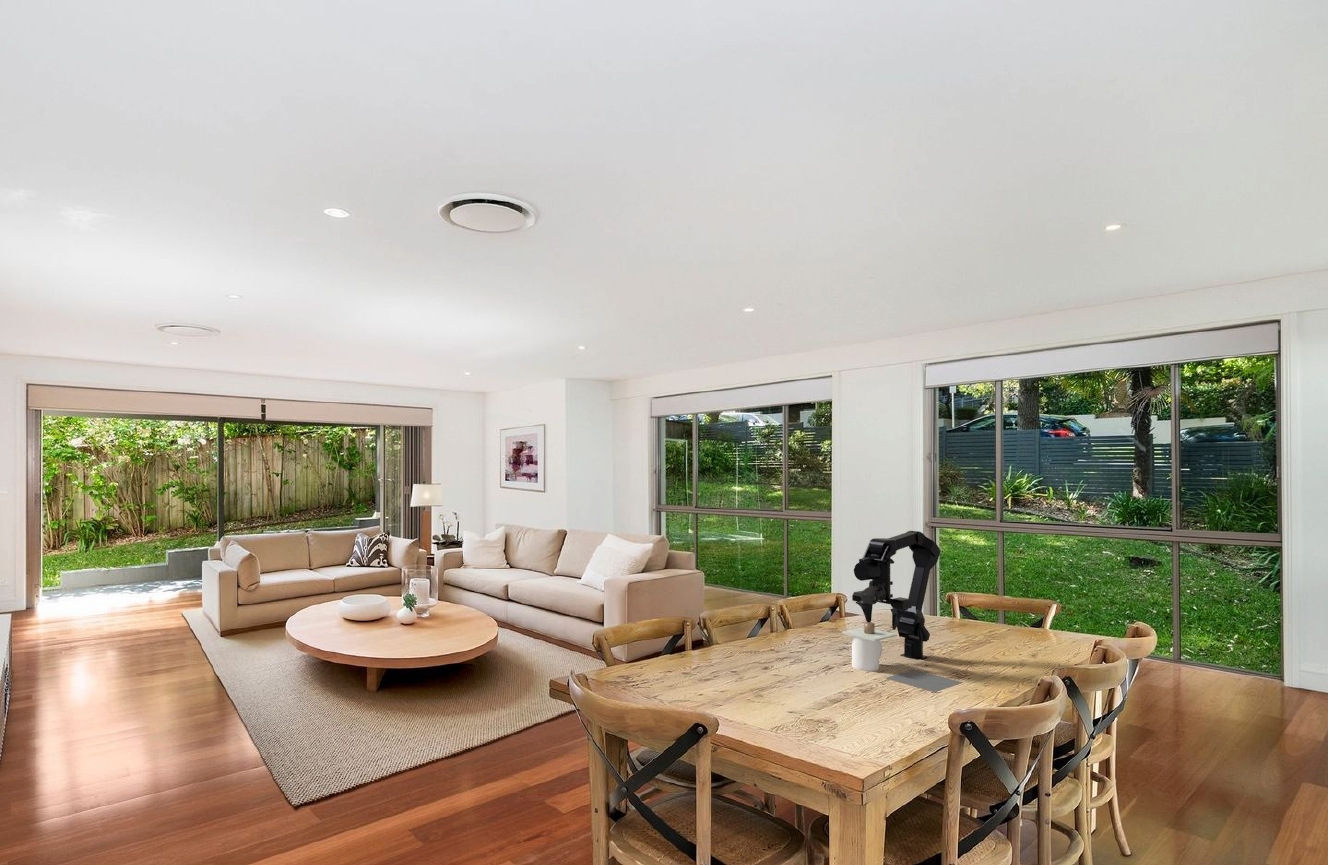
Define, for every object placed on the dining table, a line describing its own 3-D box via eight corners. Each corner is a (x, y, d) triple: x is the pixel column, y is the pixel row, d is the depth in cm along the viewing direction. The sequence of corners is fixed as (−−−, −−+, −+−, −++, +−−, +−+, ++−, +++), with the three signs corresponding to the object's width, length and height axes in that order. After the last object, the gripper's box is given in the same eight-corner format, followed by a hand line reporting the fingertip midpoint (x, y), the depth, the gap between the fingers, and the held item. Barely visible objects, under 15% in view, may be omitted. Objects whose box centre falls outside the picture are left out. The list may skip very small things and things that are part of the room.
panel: (864, 628, 225) (864, 617, 225) (896, 636, 216) (896, 624, 216) (841, 633, 218) (842, 622, 218) (874, 641, 208) (874, 629, 208)
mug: (871, 662, 223) (871, 630, 224) (892, 668, 216) (892, 635, 217) (846, 667, 216) (846, 634, 217) (867, 673, 209) (867, 639, 210)
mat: (913, 670, 214) (913, 669, 214) (963, 683, 202) (963, 682, 202) (884, 679, 204) (884, 678, 204) (934, 693, 192) (934, 692, 192)
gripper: (841, 576, 224) (841, 624, 223) (892, 584, 209) (892, 636, 209) (862, 573, 231) (862, 620, 230) (912, 581, 216) (912, 631, 216)
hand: (881, 626), depth 221 cm, fingers open, 9 cm apart
